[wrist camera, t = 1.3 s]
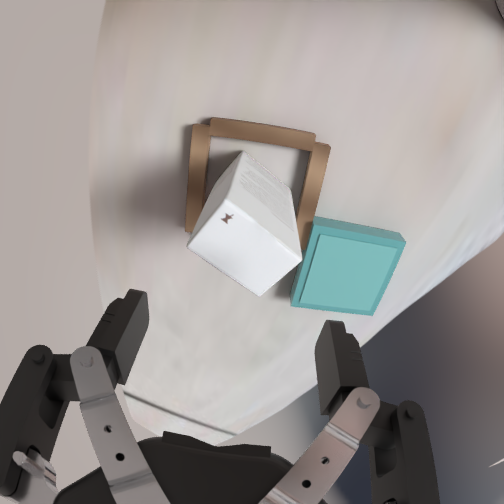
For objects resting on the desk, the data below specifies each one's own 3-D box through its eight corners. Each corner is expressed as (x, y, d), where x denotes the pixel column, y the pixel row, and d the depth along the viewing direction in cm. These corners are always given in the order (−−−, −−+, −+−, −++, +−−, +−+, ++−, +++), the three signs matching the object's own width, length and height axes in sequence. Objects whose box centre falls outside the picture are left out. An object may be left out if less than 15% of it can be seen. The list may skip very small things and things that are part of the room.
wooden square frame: (196, 115, 25) (193, 117, 24) (330, 136, 25) (332, 139, 24) (187, 232, 31) (184, 238, 30) (302, 250, 31) (303, 256, 30)
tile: (311, 215, 29) (314, 225, 28) (399, 233, 30) (406, 243, 28) (289, 294, 35) (290, 307, 33) (368, 304, 35) (372, 316, 33)
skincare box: (214, 182, 28) (181, 246, 18) (243, 148, 26) (224, 195, 16) (263, 220, 30) (259, 300, 20) (293, 190, 28) (306, 259, 18)
